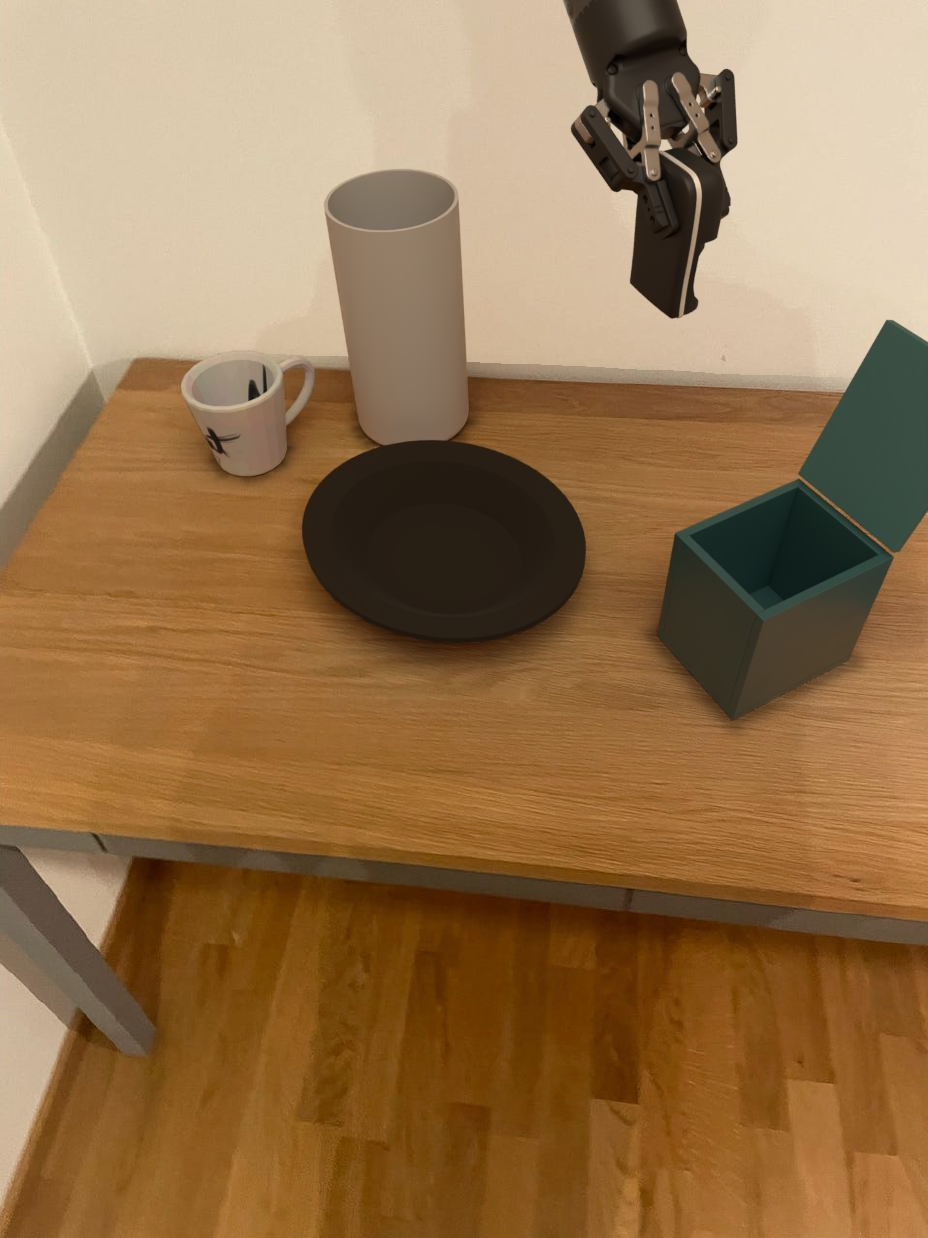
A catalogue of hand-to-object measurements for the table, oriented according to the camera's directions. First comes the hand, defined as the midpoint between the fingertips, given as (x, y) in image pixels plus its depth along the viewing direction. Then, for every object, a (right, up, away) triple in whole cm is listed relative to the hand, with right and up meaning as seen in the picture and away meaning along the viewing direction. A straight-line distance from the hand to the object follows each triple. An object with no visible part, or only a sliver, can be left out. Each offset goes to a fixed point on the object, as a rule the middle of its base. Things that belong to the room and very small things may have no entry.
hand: (694, 225), depth 71 cm
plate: (-19, -26, +19) cm, 37 cm away
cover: (+14, -17, -2) cm, 22 cm away
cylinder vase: (-23, -7, +34) cm, 42 cm away
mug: (-39, -11, +32) cm, 52 cm away
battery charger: (-1, -3, +7) cm, 7 cm away
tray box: (+8, -33, +11) cm, 35 cm away
